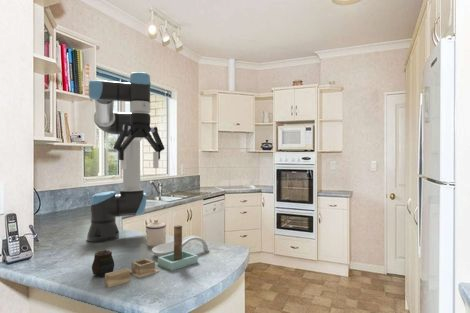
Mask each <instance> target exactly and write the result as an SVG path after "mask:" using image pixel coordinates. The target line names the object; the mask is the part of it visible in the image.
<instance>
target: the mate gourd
mask: <svg viewBox="0 0 470 313" xmlns="http://www.w3.org/2000/svg"><path fill="white" fill-rule="evenodd" d="M112 253H113V252H112V250H108V249H104V250H103V249H102V250H99V251H96V252H95V253H94V258H93V262H92V265H91V270H92V274H93V275H94V276H95V277H97V278H105V274H106V273H110V272H113V271H114V268H115V262H114V257H113V256H112V255H113V254H112Z"/></svg>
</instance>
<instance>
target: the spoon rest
mask: <svg viewBox="0 0 470 313" xmlns="http://www.w3.org/2000/svg"><path fill="white" fill-rule="evenodd" d="M194 240H197V241H199V242H201V244H202V249H203V250H204V251H205V252H206V251H207V252H208V251H209V246H208V244H207V242H206V240H204V239H203V238H202V237H200V236H197V235H188V236H185V237H182V249H183V248H184V247H185V245H187V244H188V243H190V241H194ZM151 252H152V254H153V255H154V256H156V257H157V258H158V257H161V256H165V255H168V254H172V253H174V240H173V241H169V242H165V243H164V244H160V245H158V246H153V247H152V248H151Z"/></svg>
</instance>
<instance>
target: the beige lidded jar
mask: <svg viewBox="0 0 470 313" xmlns="http://www.w3.org/2000/svg"><path fill="white" fill-rule="evenodd" d="M166 227H167V225H166V223H164V222H161V221H159V218H155V219H153V221H151V222H150V223H147V224H146V226H145V228H146V245H147V246H148V247H155V246H158V245H160V244H164V243H166Z"/></svg>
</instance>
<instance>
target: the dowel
mask: <svg viewBox="0 0 470 313" xmlns="http://www.w3.org/2000/svg"><path fill="white" fill-rule="evenodd" d="M182 238H183V225H174V226H173V241H174V261H177V260H180V259H182V251H183V248H182Z"/></svg>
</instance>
